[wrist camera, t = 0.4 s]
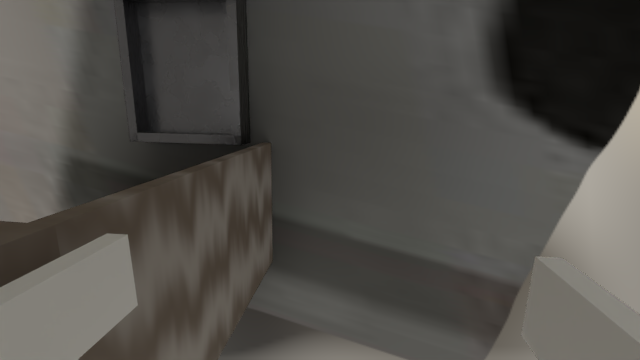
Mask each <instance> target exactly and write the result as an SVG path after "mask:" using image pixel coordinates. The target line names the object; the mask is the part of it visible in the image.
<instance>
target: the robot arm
mask: <svg viewBox="0 0 640 360" xmlns="http://www.w3.org/2000/svg"><path fill="white" fill-rule="evenodd" d="M137 305H138V303H137V296H136V289H135V282H134V275H133V268H132V261H131V254H130V248H129V241H128V234H109V233H107V234H105V235H103V236H101V237H99V238H97V239H95V240H93V241H91V242H89V243H87V244H85V245H83V246H81V247H79V248H77V249H75V250H73V251H71V252H69V253H67V254H65V255H63V256H61V257H59V258H57V259H55V260H53V261H51V262H50V263H48V264H46V265H44V266H42V267H40V268H38V269H36V270H34V271H32V272H30V273H28V274H26V275H24V276H22V277H20V278H18V279H16V280H14V281H12V282H10V283H8V284H6V285H4V286H2V287H0V360H78V359H79V358H80V357H81V356H82V355H83V354H84V353H86V352H87V351H88V350H89V349H90V348H91V347H92V346H93V345H94V344H95V343H97V342H98V341H99V340H100V339H101V338H102V337H103V336H104V335H105V334H107V333H108V332H109V331H110V330H111V329H112V328H113V327H114V326H115V325H116V324H118V323H119V322H120V321H121V320H122V319H123V318H124V317H125V316H126V315H128V314H129V313H130V312H131V311H132V310H133V309H134V308H135V307H136V306H137ZM521 336H522V338H523V339H524V340H525V342H526V343H527V344H528V346H529V347H530V349H531V350H532V352H533V353H534V354H535V356H536V357H537V359H538V360H640V314H639V313H638V312H636V311H635V310H634V309H632V308H631V307H630V306H628V305H627V304H625V303H624V302H623V301H621V300H620V299H618V298H617V297H616V296H614V295H613V294H612V293H610V292H609V291H608V290H606V289H605V288H603V287H602V286H601V285H599V284H598V283H597V282H595V281H594V280H593V279H591V278H590V277H588V276H587V275H586V274H584V273H583V272H582V271H580V270H579V269H577V268H576V267H575V266H573V265H572V264H570V263H569V262H568V261H566V260H565V259H564V258H555V257H536V256H535V261H534V266H533V272H532V278H531V283H530V289H529V295H528V301H527V306H526V312H525V317H524V323H523V329H522V334H521Z"/></svg>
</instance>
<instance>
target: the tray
mask: <svg viewBox="0 0 640 360" xmlns="http://www.w3.org/2000/svg"><path fill="white" fill-rule="evenodd" d="M114 7H115V15H116V24H117V33H118V41H119V50H120V59H121V67H122V76H123V85H124V94H125V102H126V111H127V120H128V128H129V137H130V141H135V142H167V143H198V144H229V145H242V144H246V143H249V142H250V128H249V95H248V62H247V30H246V0H114Z"/></svg>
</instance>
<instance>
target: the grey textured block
mask: <svg viewBox="0 0 640 360" xmlns="http://www.w3.org/2000/svg"><path fill="white" fill-rule="evenodd" d="M107 233H109V234H128V241H129V248H130V254H131V261H132V268H133V275H134V282H135V289H136V296H137V303H138V305H137V306H136V307H135V308H134V309H133V310H132V311H131V312H130V313H129V314H128V315H126V316H125V317H124V318H123V319H122V320H121V321H120V322H119V323H118V324H116V325H115V326H114V327H113V328H112V329H111V330H110V331H109V332H108V333H107V334H105V335H104V336H103V337H102V338H101V339H100V340H99V341H98V342H97V343H95V344H94V345H93V346H92V347H91V348H90V349H89V350H88V351H87V352H86V353H84V354H83V355H82V356H81V357H80V358H79V359H78V360H218V358H219V356H220V354H221V353H222V351H223V349H224V347H225V345H226V344H227V342H228V340H229V338H230V336H231V335H232V333H233V331H234V329H235V327H236V326H237V324H238V322H239V320H240V318H241V317H242V314H243V313H244V311H245V309H246V308H247V306H248V304H249V302H250V300H251V299H252V297H253V295H254V293H255V291H256V290H257V288H258V286H259V284H260V283H261V281H262V279H263V277H264V275H265V274H266V272H267V270H268V268H269V266H270V265H271V263H272V261H273V243H272V180H271V143H260V144H257V145H254V146H251V147H248V148H245V149H242V150H239V151H236V152H234V153H231V154H228V155H225V156H222V157H219V158H216V159H213V160H210V161H207V162H204V163H201V164H199V165H196V166H193V167H190V168H187V169H184V170H181V171H178V172H175V173H172V174H169V175H166V176H164V177H161V178H158V179H155V180H152V181H149V182H146V183H143V184H140V185H137V186H134V187H131V188H128V189H126V190H123V191H120V192H117V193H114V194H111V195H108V196H105V197H102V198H99V199H96V200H93V201H91V202H88V203H85V204H82V205H79V206H76V207H73V208H70V209H67V210H64V211H61V212H58V213H55V214H53V215H50V216H47V217H44V218H41V219H38V220H35V221H32V222H29V223H21V222H5V221H0V287H2V286H4V285H6V284H8V283H10V282H12V281H14V280H16V279H18V278H20V277H22V276H24V275H26V274H28V273H30V272H32V271H34V270H36V269H38V268H40V267H42V266H44V265H46V264H48V263H50V262H51V261H53V260H55V259H57V258H59V257H61V256H63V255H65V254H67V253H69V252H71V251H73V250H75V249H77V248H79V247H81V246H83V245H85V244H87V243H89V242H91V241H93V240H95V239H97V238H99V237H101V236H103V235H105V234H107Z"/></svg>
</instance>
